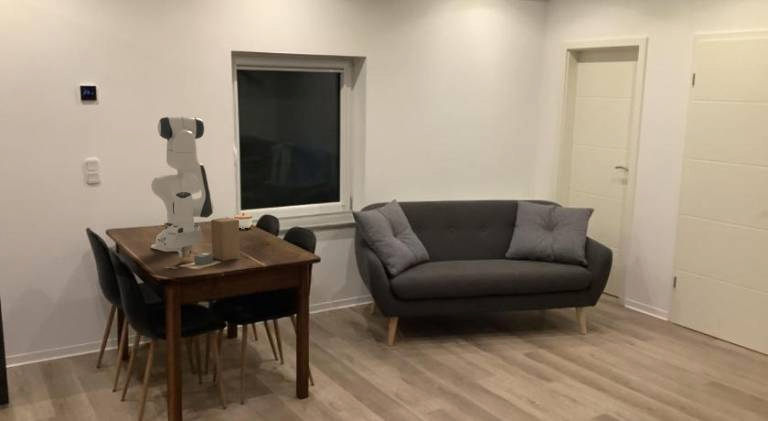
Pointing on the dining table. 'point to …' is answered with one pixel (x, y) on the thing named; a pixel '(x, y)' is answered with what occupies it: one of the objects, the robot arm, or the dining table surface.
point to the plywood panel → (196, 266)
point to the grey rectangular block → (203, 259)
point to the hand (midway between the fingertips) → (185, 255)
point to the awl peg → (185, 254)
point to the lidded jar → (244, 220)
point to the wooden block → (225, 238)
